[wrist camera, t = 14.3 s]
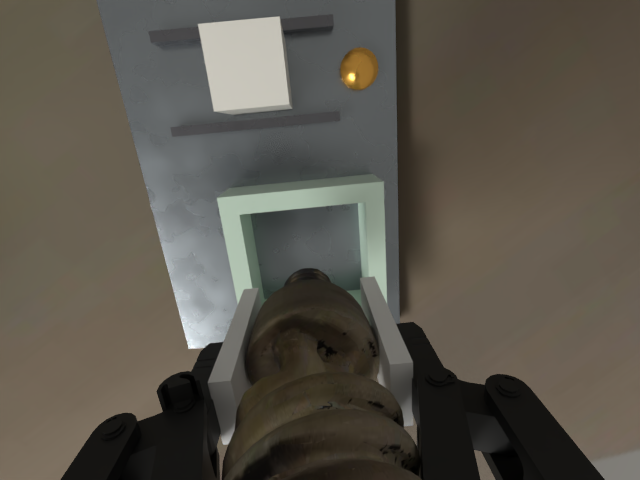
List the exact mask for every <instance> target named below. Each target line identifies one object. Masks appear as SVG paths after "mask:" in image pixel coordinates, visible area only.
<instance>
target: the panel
mask: <svg viewBox="0 0 640 480" xmlns="http://www.w3.org/2000/svg"><path fill="white" fill-rule="evenodd" d="M97 4H98V8H99V11H100V15H101V19H102V23H103V26H104V30H105V34H106V38H107V42H108V45H109V49H110V53H111V57H112V60H113V64H114V68H115V72H116V75H117V79H118V83H119V87H120V91H121V94H122V98H123V102H124V106H125V109H126V113H127V117H128V121H129V124H130V128H131V132H132V136H133V140H134V143H135V147H136V151H137V155H138V158H139V162H140V166H141V170H142V174H143V177H144V181H145V185H146V189H147V192H148V196H149V200H150V204H151V207H152V211H153V215H154V219H155V223H156V226H157V230H158V234H159V238H160V241H161V245H162V249H163V253H164V256H165V260H166V264H167V268H168V272H169V275H170V279H171V283H172V287H173V290H174V294H175V298H176V302H177V305H178V309H179V313H180V317H181V321H182V324H183V328H184V332H185V336H186V339H187V343H188V347H189V349H195V348H205V347H206V346H207V345H208V344H209V343H217V342H224V339H225V337H226V334H227V332H228V329H229V326H230V324H231V321H232V319H233V316H234V314H235V311H236V308H237V306H238V303H237V298H236V293H235V288H234V283H233V278H232V273H231V268H230V263H229V258H228V253H227V248H226V242H225V237H224V232H223V227H222V222H221V217H220V212H219V207H218V202H217V197H218V196H220V195H221V194H222V193H223V192H225V191H226V190H227V189H228V188H234V187H244V186H254V185H265V184H275V183H285V182H295V181H305V180H316V179H326V178H336V177H346V176H356V175H367V174H374V175H375V176H377V177H378V178H379V179H381V180H382V181H384V209H385V245H386V282H387V305H388V308H389V310H390V312H391V314H392V316H393V319H394V321H395V323H396V324H399V323H400V311H399V237H398V164H397V90H396V16H395V0H97ZM278 16H280V20H281V25H282V29H283V33H284V37H285V42H286V51H287V60H288V69H289V78H290V88H291V97H292V106H293V109H289V110H278V111H268V112H258V113H247V114H237V115H232V114H226V113H220V112H214V109H213V104H212V98H211V93H210V87H209V82H208V76H207V71H206V65H205V60H204V55H203V49H202V44H201V38H200V33H199V27H198V24H202V23H213V22H224V21H235V20H245V19H256V18H267V17H278ZM250 215H251V221H252V227H253V233H254V239H255V245H256V251H257V257H258V263H259V269H260V275H261V281H262V287H263V293H264V299H268V298H269V297H270V296H271V295H272V294H273V293H274V292H275V291H277V290H279V289H280V288H282V287H284V284H285V282H286V280H287V279H288V278H289V276H291V275H292V274H293V273H294V272H296V271H298V270H300V269H303V268H314V269H318V270H320V271H321V272H323V273H324V274H326V275H327V276H328V277H329V279H330V281H331V283H333V284H335V285H337V286H339V287H341V288H343V289H344V290H346V291H350V290H360V278H362V270H361V252H360V234H359V215H358V203H353V204H343V205H333V206H322V207H312V208H302V209H292V210H282V211H272V212H262V213H252V214H250Z"/></svg>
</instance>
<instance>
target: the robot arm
mask: <svg viewBox="0 0 640 480" xmlns="http://www.w3.org/2000/svg"><path fill="white" fill-rule="evenodd" d="M360 289H361V307H362V310H363V312H364V314H365V316H366V318H367V319H368V321H369V323H370V326H371V328H372V330H373V334H374V336H375V338H376V341H377V344H378V347H379V357H380V364H379V372H378V375H377V377H378V380H379V384H381V385H382V386H384V387H385V388H387V389H388V390H389V391H390V392H391V393H392V394H393V395H394V397H395V398H396V400H397V402H398V404H399V405H400V407H401V409H402V413H403V419H404V426H412V425H413V415H414V418H415V421H416V424H417V448H418V452H419V456H420V460H421V461H420V472H419V478H421V479H422V480H480V476H479V471H478V467H477V462H476V458H475V453H474V450H478V451H481V452H482V454H483V456H484V458H485V460H486V461H487V463H488V465H489V467H490V469H491V471H492V473H493V475H494V477H495V479H496V480H604V478H603V477H602V476H601V475H600V473H599V472H598V471H597V470H596V468H595V467H594V466H593V465H592V464H591V462H590V461H589V460H588V459H587V457H586V456H585V455H584V454H583V452H582V451H581V450H580V449H579V448H578V446H577V445H576V444H575V443H574V441H573V440H572V439H571V438H570V437H569V435H568V434H567V433H566V432H565V430H564V429H563V428H562V427H561V426H560V424H559V423H558V422H557V421H556V419H555V418H554V417H553V416H552V415H551V413H550V412H549V411H548V410H547V408H546V407H545V406H544V405H543V404H542V402H541V401H540V400H539V399H538V397H537V396H536V395H535V394H534V392H533V391H532V390H531V389H530V388H529V387H528V386H527V385H526V384H525V383H524V382H523V381H521V380H519V379H517V378H515V377H512V376H509V375H503V374H496V375H492V376H490V377H489V378H487V379H486V383H485V385H482V384H475V383H469V382H464V381H461V380H459V379H457V377H456V375H455V374H454V373H453V372H451V371H450V370H448V369H446V368H444V367H443V365H442V363H441V361H440V360H439V358H438V356H437V354H436V353H435V351H434V349H433V347H432V346H431V345H430V342H429V340H428V339H427V338H426V335H425V333H424V332H423V330H422V328H420V327H419V326H418V325H416V324H415V323H414V322H409V323H399V324H396V323H395V321H394V319H393V316H392V314H391V312H390V310H389V308H388V305H387V303H386V301H385V299H384V296H383V294H382V292H381V290H380V288H379V285H378V283H377V281H376V279H375V276H373V277H363V278H360ZM261 307H262V305H261V299H260V293H259V288H252V289H244V290H243V293H242V296H241V298H240V301H239V303H238V306H237V308H236V311H235V314H234V316H233V319H232V321H231V324H230V326H229V329H228V332H227V334H226V337H225V339H224V342H217V343H209V344H208V345H207V346H206V347H205V348H204V349H203V350H202V351H201V352H200V354H199V356H198V359H197V362H196V363H195V365H194V367H193V369H192V371H191V372H189V371H186V372H180V373H177V374H175V375H172V376H170V377H169V378H167V379H166V380H164V381H163V383H162V384H161V385H160V386H159V388H158V390H157V394H158V398H159V401H160V404H161V407H162V410H163V412H162V413H160V414H157V415H155V416H152V417H149V418H146V419H144V420H141V421H137V419H136V416H135V415H133V414H132V413H122V414H118V415H115V416H113V417H111V418H109V419H107V420H105V421H104V422H103V423H101V424H100V425H99V426H98V427H97V428H96V429H95V430H94V431H93V432H92V434H91V435H90V437H89V438H88V440H87V441H86V443H85V444H84V446H83V447H82V449H81V450H80V452H79V453H78V455H77V456H76V458H75V459H74V461H73V462H72V463H71V465H70V466H69V468H68V469H67V471H66V472H65V474H64V475H63V477H62V478H61V480H220V470H219V453H218V449H217V443H218V440H219V436H220V434H221V438H222V442H223V445H225V444H229V442H230V440H231V437H232V435H233V433H234V431H235V420H236V411H237V408H238V406H239V404H240V401H241V399H242V396H243V394H244V392H246V391H247V390H248V389H249V388H250V387H252V385H251V383H250V381H249V379H248V375H247V370H246V363H245V362H246V355H247V351H248V345H249V340H250V337H251V333H252V330H253V327H254V323H255V320H256V318H257V315H258V313H259V310H260V308H261Z"/></svg>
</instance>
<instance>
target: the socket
mask: <svg viewBox="0 0 640 480" xmlns="http://www.w3.org/2000/svg"><path fill="white" fill-rule="evenodd" d="M217 202H218V207H219V212H220V217H221V222H222V227H223V232H224V237H225V242H226V248H227V253H228V258H229V263H230V268H231V273H232V278H233V283H234V288H235V293H236V298H237V303H239V301H240V298H241V296H242V293H243V290H244V289H252V288H259V293H260V299H261V305H263V304H264V302H265V301H266V300H267V299H264V293H263V287H262V281H261V275H260V269H259V263H258V257H257V251H256V245H255V239H254V233H253V227H252V221H251V215H250V214H252V213H262V212H272V211H282V210H292V209H302V208H312V207H322V206H333V205H343V204H353V203H358V215H359V234H360V252H361V270H362V278H363V277H373V276H375V279H376V281H377V283H378V285H379V288H380V290H381V292H382V294H383V296H384V299H385V301H386V303H387V282H386V245H385V209H384V181H382V180H381V179H379V178H378V177H377V176H375V175H374V174H367V175H356V176H346V177H336V178H326V179H316V180H305V181H295V182H285V183H275V184H265V185H254V186H244V187H234V188H228V189H227V190H226V191H225V192H223V193H222V194H221V195H220V196H218V197H217ZM347 292H348V293H350V294H351V295H352V296H353V297H354V298H355V300H356V301H357V302H358V303H359V304H360V306H361V289H360V290H350V291H347ZM361 308H362V307H361Z"/></svg>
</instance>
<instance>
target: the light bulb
mask: <svg viewBox="0 0 640 480" xmlns="http://www.w3.org/2000/svg"><path fill="white" fill-rule="evenodd" d="M245 363H246V370H247V375H248V379H249V381H250V383H251V385H252V387H250V388H249V389H248V390H247V391H246V392H244V394H243V396H242V399H241V401H240V404H239V406H238V408H237V411H236V420H235V431H234V433H233V435H232V437H231V440H230V442H229V445H228V447H227V450H226V454H225V457H224V460H223V470H222V480H422V479H421V478H419V472H420V461H421V460H420V456H419V452H418V448H417V446H416V444H415V442H414V441H413V439H412V438H411V436H410V435H409V434H408V433H407V432H406V431H405V430H404V419H403V413H402V409H401V407H400V405H399V404H398V402H397V400H396V398H395V397H394V395H393V394H392V393H391V392H390V391H389V390H388V389H387V388H385V387H384V386H382V385H381V384H379V383H378V382H376V378H377V375H378V372H379V364H380V357H379V347H378V344H377V341H376V338H375V336H374V334H373V330H372V328H371V326H370V323H369V321H368V319H367V318H366V316H365V314H364V312H363V310H362V308H361V306H360V304H359V303H358V302H357V301H356V300H355V298H354V297H353V296H352V295H351V294H350V293H348V292H347V291H346V290H344V289H343V288H341V287H339V286H337V285H335V284H333V283H331V281H330V279H329V277H328V276H327V275H326V274H324V273H323V272H321V271H320V270H318V269H314V268H303V269H300V270H298V271H296V272H294V273H293V274H292V275H291V276H289V278H288V279H287V280H286V282H285V284H284V287H282V288H280V289H279V290H277V291H275V292H274V293H273V294H272V295H271V296H270V297H269V298H268V299H267V300H266V301H265V302H264V304H263V305H262V307H261V308H260V310H259V313H258V315H257V318H256V320H255V323H254V327H253V330H252V333H251V337H250V340H249V345H248V351H247V355H246V362H245Z"/></svg>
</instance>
